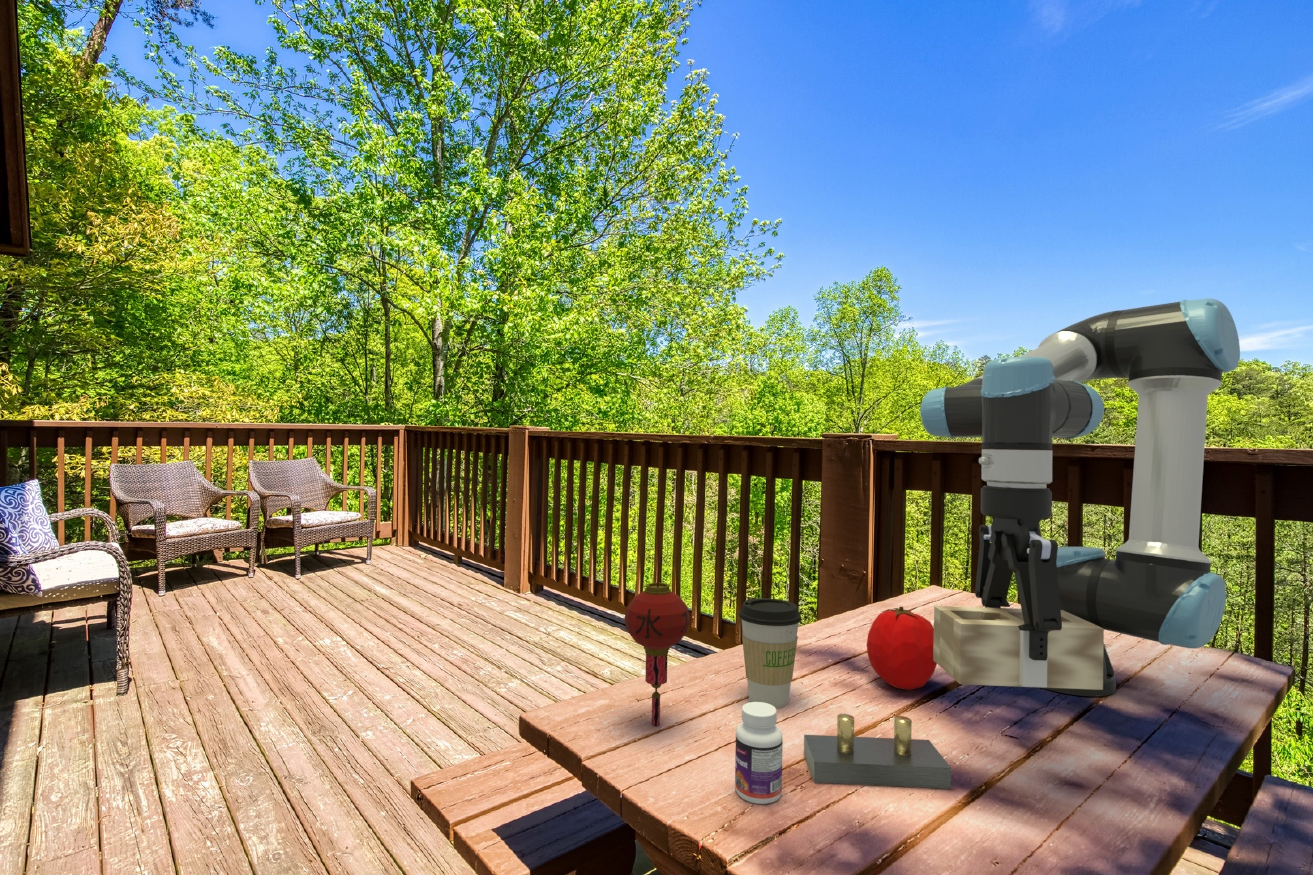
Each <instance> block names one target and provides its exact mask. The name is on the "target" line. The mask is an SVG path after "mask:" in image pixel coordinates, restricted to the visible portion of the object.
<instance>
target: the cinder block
mask: <svg viewBox="0 0 1313 875" xmlns="http://www.w3.org/2000/svg"><path fill="white" fill-rule="evenodd" d="M1061 620H1062V629H1061V630H1053V631H1049V633H1048V651H1047V652H1048V657H1047V688H1070V689H1096V690H1103V646H1104V645H1105V642H1104V639H1105V638H1104V637H1105V634H1104V633H1105V630H1104V629H1103V628H1101V627H1099V626H1097V625H1095V624H1092V623H1090V622H1088V621H1086V620H1083V619H1081V618H1079V617H1077V616H1075V615H1072V614H1070V613H1068V612H1066V611H1063V610H1061ZM1023 624H1024V619H1023V614H1022V609H1021V608H1013V607H1011V608H1010V607H1001V608H985V607H984V606H983V607H981V606H976V607H975V606H951V605H949V606H948V605H947V606H945V605H934V607H933V628H934V648H933V661H935V662H936V663H937V665H938V666H939V667H940V668H941V669H942V670H943V671H945V673H947V674H948V675H949V676H950V677H951V678H952V679H953V680H955V681H956V682H957V683H958V684H959V685H969V686H970V685H971V686H993V687H994V686H995V687H996V686H997V687H1020V688H1021V687H1022V686H1021V685H1020V684H1019V666H1020V629H1019V627H1018V626H1019V625H1023ZM1044 688H1045V687H1044ZM1044 688H1043V689H1044Z"/></svg>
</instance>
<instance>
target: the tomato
mask: <svg viewBox="0 0 1313 875" xmlns="http://www.w3.org/2000/svg"><path fill="white" fill-rule="evenodd" d="M917 608H918V606H915V607H913V608H911V609H904V606H899V607H895V608H891V609H890V608H889V609H885V610H883V611H881V612H879V614H878V615H877V616H876V618H874V620H873V622H872V623H871V626H870V629H869V630H868V633H867V640H866V651H867V657H868V659H869V662H870V665H871V667H872V669H873V670H874V672H875V673H876V674H877V675H878V677H880V679H882V680H883V681H884V682H885V683H887V684H888V685H890V686H892V687H894V688H896V689H901V690H906V691H911V690H915V689H919V688H923V687H924V686H925V685H926V683H928V682H929V680H930V679H931V677H932V676H933V675H934V673H935V671H936V667H937V665H938V664H937V663H936V662H935V661H933V648H934V625H932V623H931V621H930V620H928V619H927V618H925V617H923V616H921V615H920V614H918V613H915V612H912V611H914V610H915V609H917Z"/></svg>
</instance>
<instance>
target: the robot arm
mask: <svg viewBox="0 0 1313 875" xmlns="http://www.w3.org/2000/svg"><path fill="white" fill-rule="evenodd" d="M1240 359H1241V348H1240V338H1239V333H1238V330H1237V327H1236V323H1235V320H1234V318H1233V316H1232V314H1231V312H1230V310H1229V308H1228V307H1227V306H1226V305H1225V304H1224V303H1223V302H1222V301H1220V300H1218V299H1215V298H1199V299H1191V300H1187V299H1182V300H1180V301H1175V302H1168V303H1162V304H1155V305H1154V304H1153V305H1149V306H1141V307H1133V308H1128V309H1121V310H1118V309H1117V310H1113V311H1108V312H1102V313H1100V314H1097V315H1094V316H1091V317H1088V318H1084V319H1082V320H1080V321H1078V322H1075V323H1073V324H1071V325H1069V326H1067V327H1064V328H1061V329H1060V330H1057V331H1056V332H1053V333H1051V334H1050V335H1048V336H1047V337H1045V338H1044V339H1042V341H1040V343H1039V345H1038V346H1037V348H1035V349H1033V350H1030V351H1028V352H1027V353H1024V354H1023V355H1020V356H1010V357H1001V358H995V359H993V360H989V361H988V362H987V363H986V364H985V365H984V367H983V371H982V372H983V373H982V375H980V376H978V377H976V378H974V379H972V380H969V381H967V382H965V383H964V384H963V383H962V384H961V385H957V386H953V387H952V386H951V387H950V386H944V387H941V388H933V389H931V390H929V391H927V393H926V394H925V395H924V397H923V398H922V401H921V404H920V410H919V411H920V412H919V413H920V414H919V415H920V417H921V424H922V425H923V428H924V429H925V431H926V432H927V433H928V434H930V435H931V436H934V437H940V438H941V437H942V438H950V439H955V438H964V439H965V438H981V456H980V457H979V458H978V463H979V465H981V480H982V481H984V482H986V484H987V485H983V486H982V487H981V488H980V512H981V514H982V515H984V516H985V517H988V518H992V522H991V524H980V525H979V527H978V533H979V534H978V535H979V537H978V538H979V548H978V559H977V570H976V579H975V588H974V589H975V590H974V595H975V597H976V598H977V599H980V600H981V605H982V606H983V607H984V608H1010V607H1011V604H1010V602H1008V600H1007V597H1008V594H1009V590H1010V586H1011V581H1012V578H1013V576H1014V578H1015V583H1016V587H1017V594H1018V599H1019V604H1020V609H1022V614H1023V619H1024V624H1023V625H1019V626H1018V627H1019V629H1020V666H1019V684H1020V685H1021V686H1022V687H1024V688H1041V689H1044V690H1049V691H1051V692H1057V693H1060V694H1066V695H1071V696H1072V695H1073V696H1079V697H1081V696H1082V697H1105V696H1109V695H1112V694H1115V692H1116V691H1117V688H1116V687H1117V678H1116V673H1115V671H1114V668H1113V665H1112V662H1111V659H1110V656H1109V652H1108V651H1107V648H1106V645H1105V644H1104V646H1103V690H1096V689H1070V688H1047V657H1048V652H1047V651H1048V633H1049V631H1053V630H1061V629H1062V620H1061V610H1063V611H1066V612H1068V613H1070V614H1072V615H1075V616H1077V617H1079V618H1081V619H1083V620H1086V621H1088V622H1090V623H1092V624H1095V625H1097V626H1099V627H1101V628H1103V629H1104V631H1110V632H1113V633H1118V634H1122V635H1126V636H1129V637H1134V638H1139V639H1143V640H1148V641H1152V642H1156V643H1159V644H1160V645H1162V646H1163V645H1164V646H1169V645H1170V646H1176V647H1180V648H1185V649H1193V650H1194V649H1199V648H1202V647H1204V646H1206V645H1208V644H1209V642H1210V641H1211V640H1213V638H1214V636H1215V634H1216V633H1217V631H1218V629H1219V627H1220V625H1221V622H1222V619H1223V616H1224V612H1225V609H1226V603H1227V591H1226V587H1227V586H1226V582H1225V580H1224V578H1223V577H1222V576H1221V575H1219V574H1217V573H1215V572H1211V567H1212V566H1211V564H1212V563H1211V562H1212V561H1211V560H1210V559H1209V558H1208V557H1207V556H1206V555H1205V554H1204V553H1203V552H1202V551H1201V550H1200V547H1199V544H1200V543H1199V540H1200V528H1201V526H1200V525H1201V509H1202V494H1203V476H1204V461H1205V445H1206V430H1207V428H1206V427H1207V426H1206V425H1207V413H1208V399H1209V398H1208V397H1209V395H1210V394H1211V393H1213V392H1214V391H1216V390H1218V388H1220V387H1221V386H1222V378H1223V377H1222V376H1223V373H1226V374H1228V373H1230V372H1231V371H1234V370H1236V369H1237V368H1238V367H1239V364H1240V362H1239V361H1240ZM1126 378H1127V379H1128V382H1127V385H1128V387H1129V388H1130V389H1131V390H1132V391H1134V392H1135V393H1136V394H1137V395H1138V400H1137V401H1138V402H1137V403H1138V404H1137V414H1136V415H1137V416H1136V418H1137V419H1136V430H1135V442H1134V443H1135V445H1134V457H1133V459H1134V460H1133V474H1132V475H1133V476H1132V486H1131V487H1132V488H1131V504H1130V514H1129V515H1130V517H1129V518H1130V519H1129V531H1128V532H1129V534H1128V539H1127V541H1126V542H1125V543H1123V544H1121V545H1120V546H1119V547H1117V548H1116V551H1115V559H1112V558H1111V559H1110V558H1106V557H1107V554H1106V552H1105V550H1104V549H1103V548H1101V547H1093V546H1059V544H1058V541H1057V540H1055V539H1045V538H1043V536H1042V532H1041V527H1040V522H1041V521H1045V520H1048V519H1050V518H1051V517H1052V513H1053V512H1052V511H1053V510H1052V509H1053V507H1052V506H1053V504H1052V503H1053V502H1052V500H1053V492H1052V491H1051V489H1050V488H1047V485H1049V484H1051V483H1053V438H1054V439H1055V438H1056V439H1059V440H1063V439H1067V440H1071V439H1075V438H1081V437H1083V436H1087V435H1089V434H1090V433H1092V432H1094V431H1095V429H1097V428H1098V427H1099V425H1100V424H1101V422H1102V420H1103V418H1104V414H1105V404H1104V400H1103V399H1102V396H1101V395H1100V394H1099V392H1098V391H1096V389H1094V388H1093V387H1091V386H1090V385H1088V384H1084V383H1083V382H1085V381H1093V380H1104V379H1106V380H1109V379H1126ZM1044 687H1045V688H1044Z"/></svg>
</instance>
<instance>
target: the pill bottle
mask: <svg viewBox="0 0 1313 875" xmlns="http://www.w3.org/2000/svg"><path fill="white" fill-rule="evenodd" d="M777 713H778V712H777V708H775V707H774V706H772V705H770V704H768V703H764V702H751V701H749V702H746V703H744V704H743V705H742V707H741V721H742V722H740V724H738V726H737V727H736V730H735V752H734V753H735V758H734V759H735V760H734V762H735V765H734V768H735V770H734V772H735V773H734V780H735V781H734V783H735V785H734V788H735V791H736V794H737V795H738V796H739V797H740V798H742V799H743V800H745V801H747V802H749V803H752V804H756V805H757V804H758V805H765V804H766V805H767V804H772V803H774V802H776V801H778V800H779V799H780V798H781V795H782V792H783V791H782V789H783V745H784V744H783V740H784V738H783V731H782V730H781V729H780V727H779V726H778V725H777V721H778V718H777V716H778V715H777Z"/></svg>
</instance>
